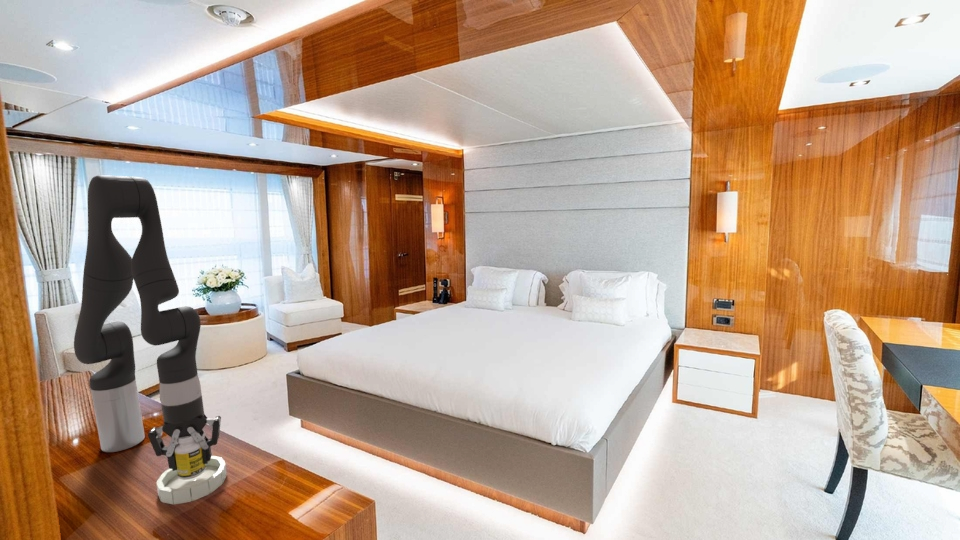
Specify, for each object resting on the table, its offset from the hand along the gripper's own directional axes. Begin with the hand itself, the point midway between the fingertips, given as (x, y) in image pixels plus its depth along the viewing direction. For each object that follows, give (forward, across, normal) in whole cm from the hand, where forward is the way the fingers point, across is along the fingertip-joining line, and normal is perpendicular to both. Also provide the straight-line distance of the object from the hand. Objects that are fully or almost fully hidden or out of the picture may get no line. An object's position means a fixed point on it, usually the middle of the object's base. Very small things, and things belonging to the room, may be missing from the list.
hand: (191, 465), depth 100 cm
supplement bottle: (+2, 0, 0) cm, 2 cm away
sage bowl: (+5, 0, 0) cm, 5 cm away
